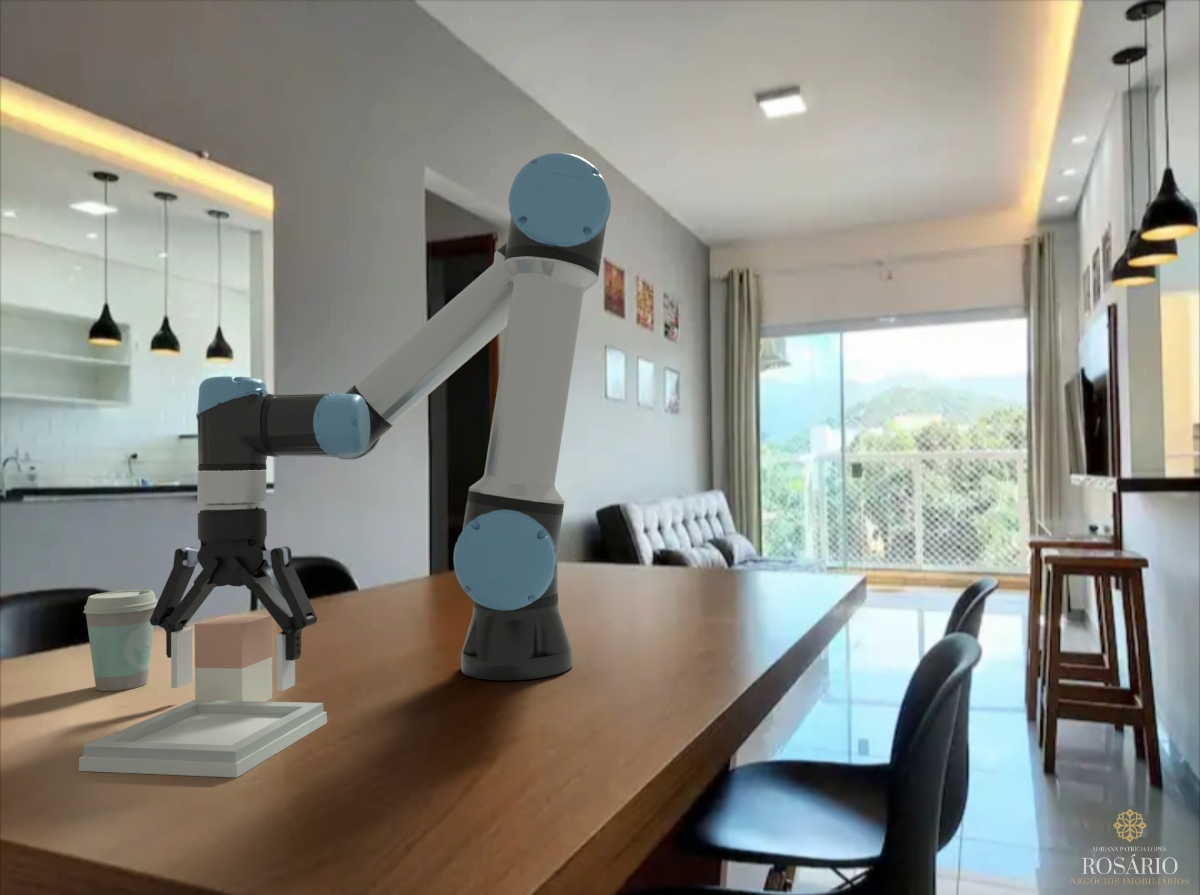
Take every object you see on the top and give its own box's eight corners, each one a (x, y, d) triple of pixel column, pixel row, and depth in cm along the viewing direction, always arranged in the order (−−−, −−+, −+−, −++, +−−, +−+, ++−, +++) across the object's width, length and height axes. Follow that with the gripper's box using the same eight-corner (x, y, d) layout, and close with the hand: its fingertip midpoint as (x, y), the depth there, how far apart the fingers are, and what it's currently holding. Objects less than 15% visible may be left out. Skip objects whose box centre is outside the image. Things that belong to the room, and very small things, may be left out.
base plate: (326, 722, 88) (326, 702, 89) (236, 777, 73) (236, 752, 73) (193, 719, 91) (193, 699, 91) (79, 771, 75) (79, 746, 76)
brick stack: (272, 698, 99) (271, 615, 100) (242, 712, 93) (241, 624, 94) (227, 697, 100) (226, 615, 101) (195, 711, 94) (194, 624, 95)
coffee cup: (125, 695, 102) (124, 599, 103) (67, 693, 104) (66, 598, 104) (173, 678, 111) (172, 589, 111) (119, 676, 112) (118, 589, 113)
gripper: (345, 504, 99) (346, 681, 99) (161, 507, 104) (161, 676, 103) (313, 507, 92) (314, 698, 91) (116, 509, 96) (116, 691, 95)
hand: (233, 686), depth 97 cm, fingers open, 13 cm apart
